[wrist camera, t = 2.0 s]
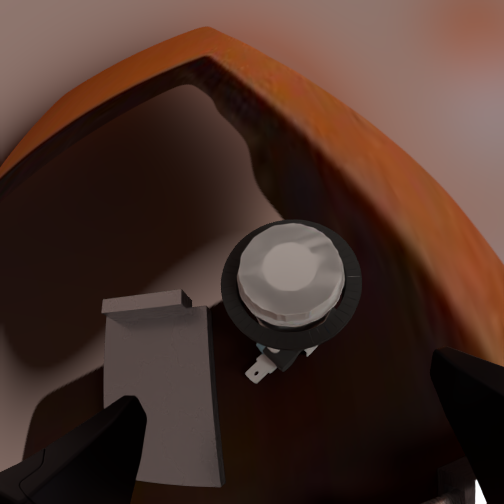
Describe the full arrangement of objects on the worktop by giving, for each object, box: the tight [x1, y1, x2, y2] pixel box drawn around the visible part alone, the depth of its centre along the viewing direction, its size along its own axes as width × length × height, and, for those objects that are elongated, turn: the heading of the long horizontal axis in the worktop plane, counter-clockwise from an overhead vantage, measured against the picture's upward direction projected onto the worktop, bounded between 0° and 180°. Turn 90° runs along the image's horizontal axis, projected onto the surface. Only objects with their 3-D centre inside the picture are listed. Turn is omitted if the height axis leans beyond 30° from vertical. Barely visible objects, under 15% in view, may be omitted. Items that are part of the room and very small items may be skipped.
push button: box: [221, 220, 362, 383], centre depth 14 cm, size 7×5×10 cm
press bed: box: [102, 289, 226, 487], centre depth 17 cm, size 12×8×3 cm, turn 6°
